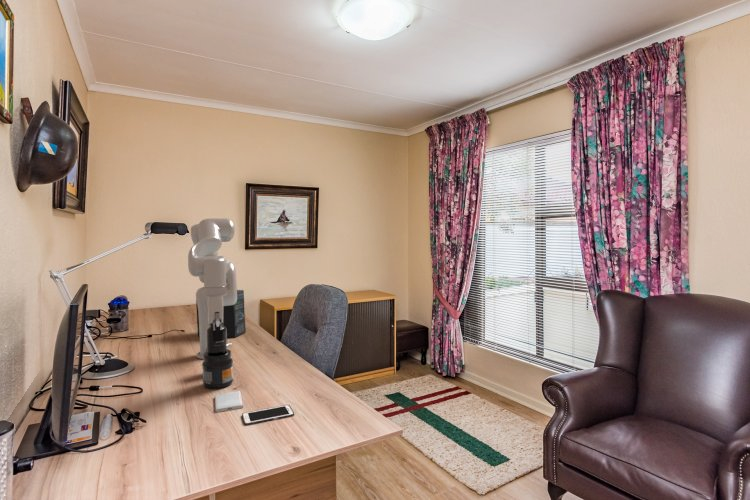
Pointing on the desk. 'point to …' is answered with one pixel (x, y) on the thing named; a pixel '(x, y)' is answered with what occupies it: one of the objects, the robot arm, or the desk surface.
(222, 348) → the supplement bottle
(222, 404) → the hard drive
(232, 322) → the headset box
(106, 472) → the desk surface
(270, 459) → the desk surface
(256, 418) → the cell phone
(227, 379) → the supplement container
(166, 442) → the desk surface
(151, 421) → the desk surface
